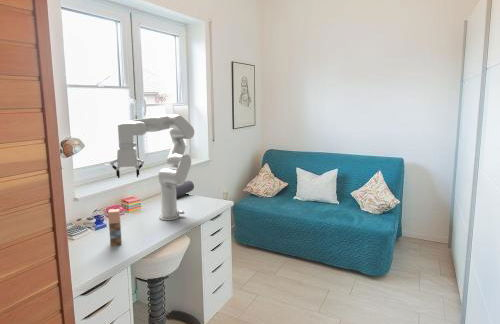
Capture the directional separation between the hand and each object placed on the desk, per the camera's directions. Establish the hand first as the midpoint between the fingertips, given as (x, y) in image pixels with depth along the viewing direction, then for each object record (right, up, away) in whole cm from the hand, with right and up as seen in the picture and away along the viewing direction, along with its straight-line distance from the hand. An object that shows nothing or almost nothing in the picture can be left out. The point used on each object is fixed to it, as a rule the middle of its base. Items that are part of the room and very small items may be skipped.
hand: (128, 177), depth 197 cm
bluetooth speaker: (+13, -18, +83) cm, 86 cm away
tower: (-3, -34, -8) cm, 36 cm away
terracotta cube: (-3, -23, -10) cm, 25 cm away
